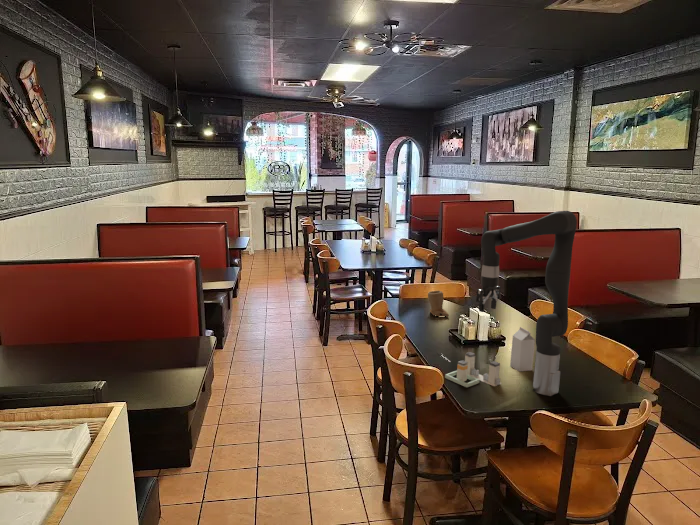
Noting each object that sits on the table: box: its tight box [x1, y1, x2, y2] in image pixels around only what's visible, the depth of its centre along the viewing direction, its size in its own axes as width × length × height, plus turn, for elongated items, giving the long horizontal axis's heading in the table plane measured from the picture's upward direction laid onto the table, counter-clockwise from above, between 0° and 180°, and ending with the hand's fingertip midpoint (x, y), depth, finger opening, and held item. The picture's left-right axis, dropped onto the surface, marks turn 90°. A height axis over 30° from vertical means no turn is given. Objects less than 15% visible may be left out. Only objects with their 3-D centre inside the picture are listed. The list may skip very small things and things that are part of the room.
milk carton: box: [509, 326, 536, 372], centre depth 236 cm, size 7×7×19 cm
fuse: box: [456, 359, 468, 382], centre depth 219 cm, size 3×3×9 cm
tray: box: [444, 370, 480, 388], centre depth 220 cm, size 12×8×3 cm, turn 38°
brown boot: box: [427, 290, 450, 318], centre depth 318 cm, size 15×12×15 cm
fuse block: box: [464, 351, 503, 387], centre depth 222 cm, size 18×5×10 cm, turn 38°
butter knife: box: [440, 354, 451, 363], centre depth 243 cm, size 1×27×3 cm
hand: (487, 310), depth 231 cm, fingers open, 8 cm apart
